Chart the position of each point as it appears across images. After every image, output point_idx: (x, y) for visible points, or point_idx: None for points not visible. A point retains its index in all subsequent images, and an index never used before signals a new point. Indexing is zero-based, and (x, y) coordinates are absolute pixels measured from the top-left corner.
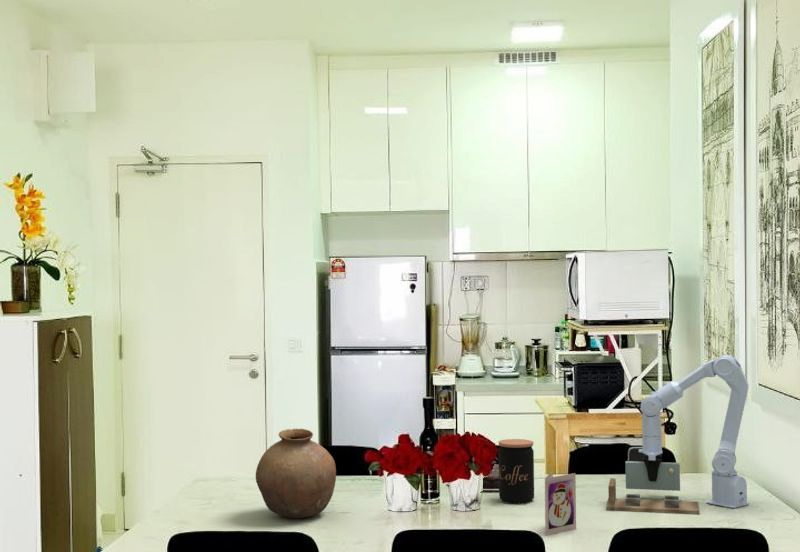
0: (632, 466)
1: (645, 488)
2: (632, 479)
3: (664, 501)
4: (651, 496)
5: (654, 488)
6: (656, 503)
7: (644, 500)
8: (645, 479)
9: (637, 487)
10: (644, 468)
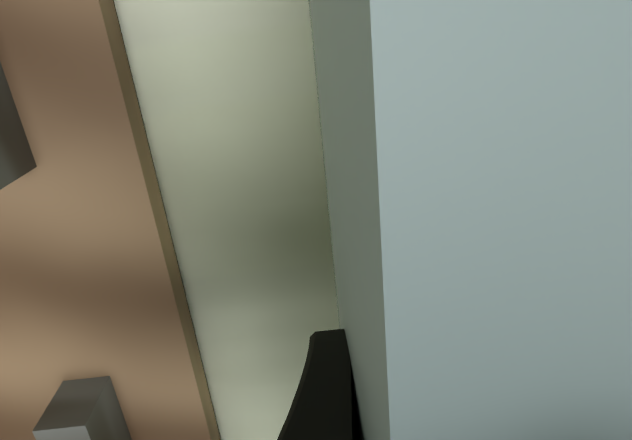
0: (349, 122)
1: (330, 222)
2: (320, 58)
3: (141, 371)
4: None
5: (339, 321)
6: (16, 323)
7: (97, 203)
8: (341, 288)
9: (320, 121)
10: (368, 429)
